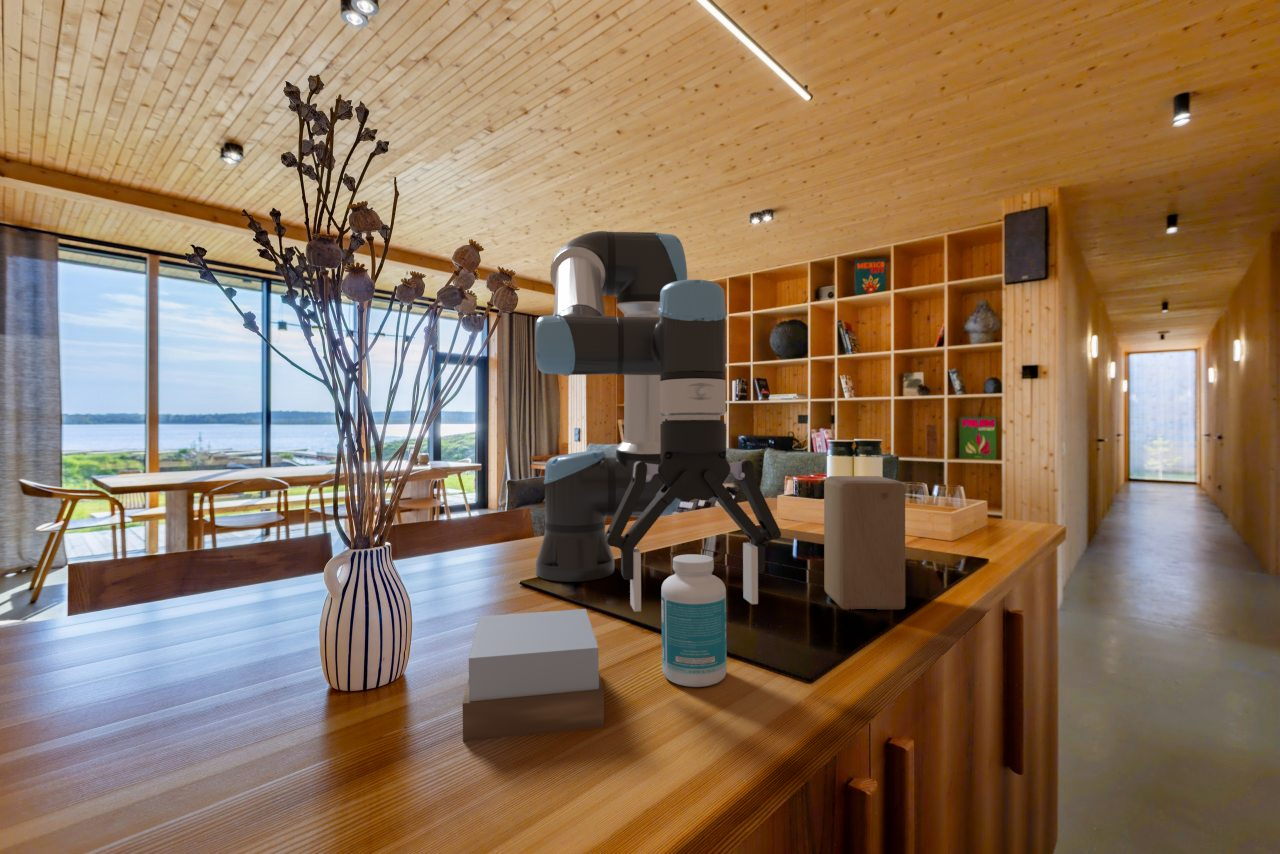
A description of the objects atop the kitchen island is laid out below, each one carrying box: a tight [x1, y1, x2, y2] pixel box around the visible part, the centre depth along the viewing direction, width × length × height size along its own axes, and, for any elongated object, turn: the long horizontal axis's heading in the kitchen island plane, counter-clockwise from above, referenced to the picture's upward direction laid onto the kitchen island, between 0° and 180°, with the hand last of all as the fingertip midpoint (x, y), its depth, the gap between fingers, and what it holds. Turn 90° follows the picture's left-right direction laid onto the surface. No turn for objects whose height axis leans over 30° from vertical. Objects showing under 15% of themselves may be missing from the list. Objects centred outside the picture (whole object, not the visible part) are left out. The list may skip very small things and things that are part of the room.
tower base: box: [462, 673, 605, 742], centre depth 61 cm, size 13×13×4 cm
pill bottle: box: [660, 553, 728, 688], centre depth 67 cm, size 8×7×14 cm
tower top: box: [468, 608, 600, 701], centre depth 61 cm, size 12×12×4 cm
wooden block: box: [823, 475, 906, 611], centre depth 94 cm, size 10×10×20 cm
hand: (694, 604), depth 67 cm, fingers open, 13 cm apart
